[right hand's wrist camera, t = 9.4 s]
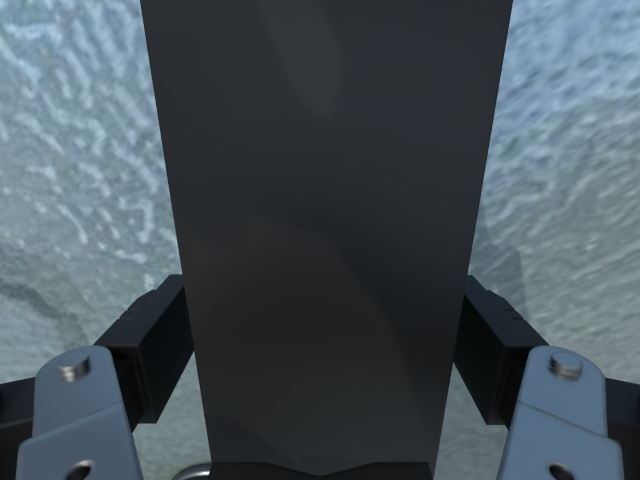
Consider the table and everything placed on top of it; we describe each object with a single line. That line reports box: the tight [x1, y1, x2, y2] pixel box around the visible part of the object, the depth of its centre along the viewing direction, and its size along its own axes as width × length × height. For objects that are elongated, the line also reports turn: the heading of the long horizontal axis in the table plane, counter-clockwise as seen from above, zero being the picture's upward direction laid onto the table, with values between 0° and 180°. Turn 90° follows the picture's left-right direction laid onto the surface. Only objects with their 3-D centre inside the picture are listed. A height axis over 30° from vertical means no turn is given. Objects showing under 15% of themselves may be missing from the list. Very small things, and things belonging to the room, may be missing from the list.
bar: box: [140, 0, 513, 479], centre depth 9 cm, size 22×6×8 cm, turn 0°
